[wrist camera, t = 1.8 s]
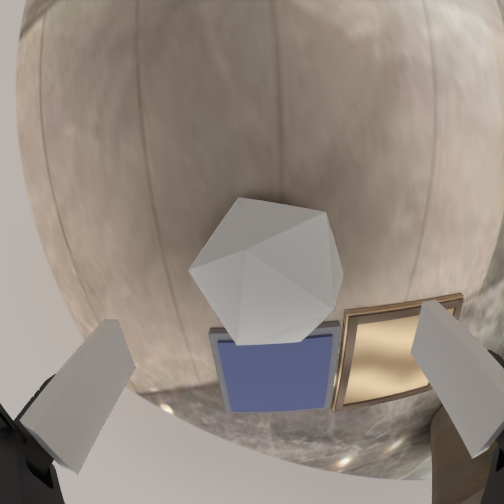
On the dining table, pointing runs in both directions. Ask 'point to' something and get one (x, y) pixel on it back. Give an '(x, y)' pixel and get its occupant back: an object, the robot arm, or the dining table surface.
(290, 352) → the ink pad
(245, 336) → the die
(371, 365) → the board
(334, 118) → the dining table surface
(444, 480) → the plant pot
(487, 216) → the dining table surface
